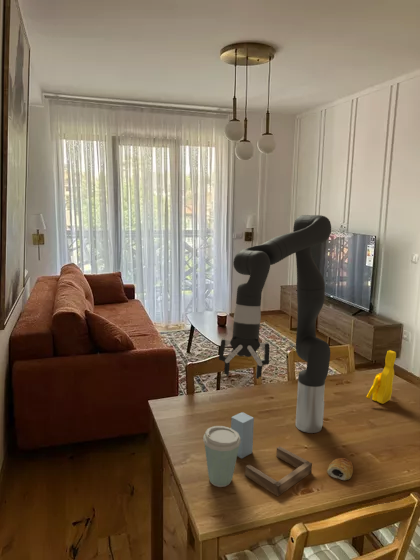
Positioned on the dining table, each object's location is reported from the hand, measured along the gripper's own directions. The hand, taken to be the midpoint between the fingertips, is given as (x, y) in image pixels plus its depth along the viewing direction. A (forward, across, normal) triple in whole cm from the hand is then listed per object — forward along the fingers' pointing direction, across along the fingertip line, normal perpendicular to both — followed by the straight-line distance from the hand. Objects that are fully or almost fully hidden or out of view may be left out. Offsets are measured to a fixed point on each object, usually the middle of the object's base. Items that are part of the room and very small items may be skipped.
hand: (242, 376), depth 122 cm
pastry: (+28, -32, -6) cm, 43 cm away
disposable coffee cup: (+30, +4, +2) cm, 31 cm away
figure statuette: (+20, -60, -56) cm, 84 cm away
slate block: (+28, -2, -13) cm, 31 cm away
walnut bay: (+29, -13, -3) cm, 32 cm away
